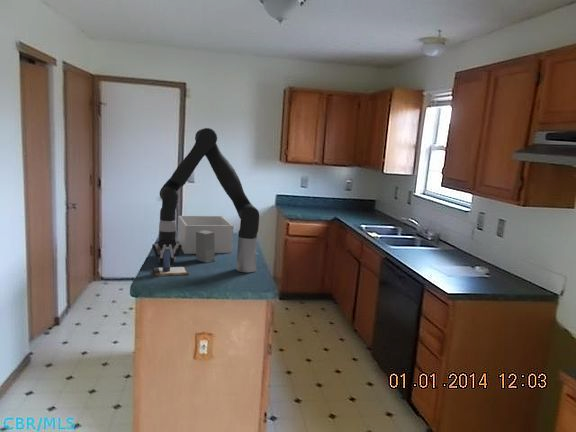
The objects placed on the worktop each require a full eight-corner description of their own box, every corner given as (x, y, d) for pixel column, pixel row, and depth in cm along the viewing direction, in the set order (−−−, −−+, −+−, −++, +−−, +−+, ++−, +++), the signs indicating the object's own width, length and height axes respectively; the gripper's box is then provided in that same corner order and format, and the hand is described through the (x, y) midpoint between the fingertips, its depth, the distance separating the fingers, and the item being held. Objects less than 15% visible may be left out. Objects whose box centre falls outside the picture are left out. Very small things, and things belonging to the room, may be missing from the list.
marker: (169, 269, 213) (170, 245, 211) (170, 271, 210) (171, 246, 208) (161, 269, 212) (162, 245, 210) (162, 272, 208) (163, 247, 207)
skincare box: (214, 261, 238) (216, 232, 235) (203, 263, 232) (205, 233, 230) (205, 257, 243) (206, 229, 241) (194, 259, 238) (195, 230, 235)
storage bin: (220, 240, 286) (221, 216, 284) (232, 252, 258) (233, 225, 255) (177, 241, 277) (178, 215, 274) (184, 253, 248) (185, 225, 245)
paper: (183, 267, 220) (183, 266, 220) (186, 272, 211) (186, 272, 211) (158, 268, 215) (158, 267, 215) (160, 273, 207) (160, 273, 207)
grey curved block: (173, 267, 221) (174, 246, 220) (157, 267, 220) (157, 245, 218) (176, 254, 246) (177, 235, 244) (161, 254, 244) (162, 234, 242)
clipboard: (185, 268, 221) (185, 264, 221) (188, 275, 211) (188, 271, 211) (153, 269, 216) (154, 265, 215) (155, 276, 206) (155, 272, 205)
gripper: (181, 227, 214) (180, 262, 216) (151, 227, 209) (150, 263, 211) (184, 231, 207) (182, 267, 210) (152, 231, 202) (151, 268, 204)
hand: (166, 265), depth 210 cm, fingers closed on marker, 3 cm apart
